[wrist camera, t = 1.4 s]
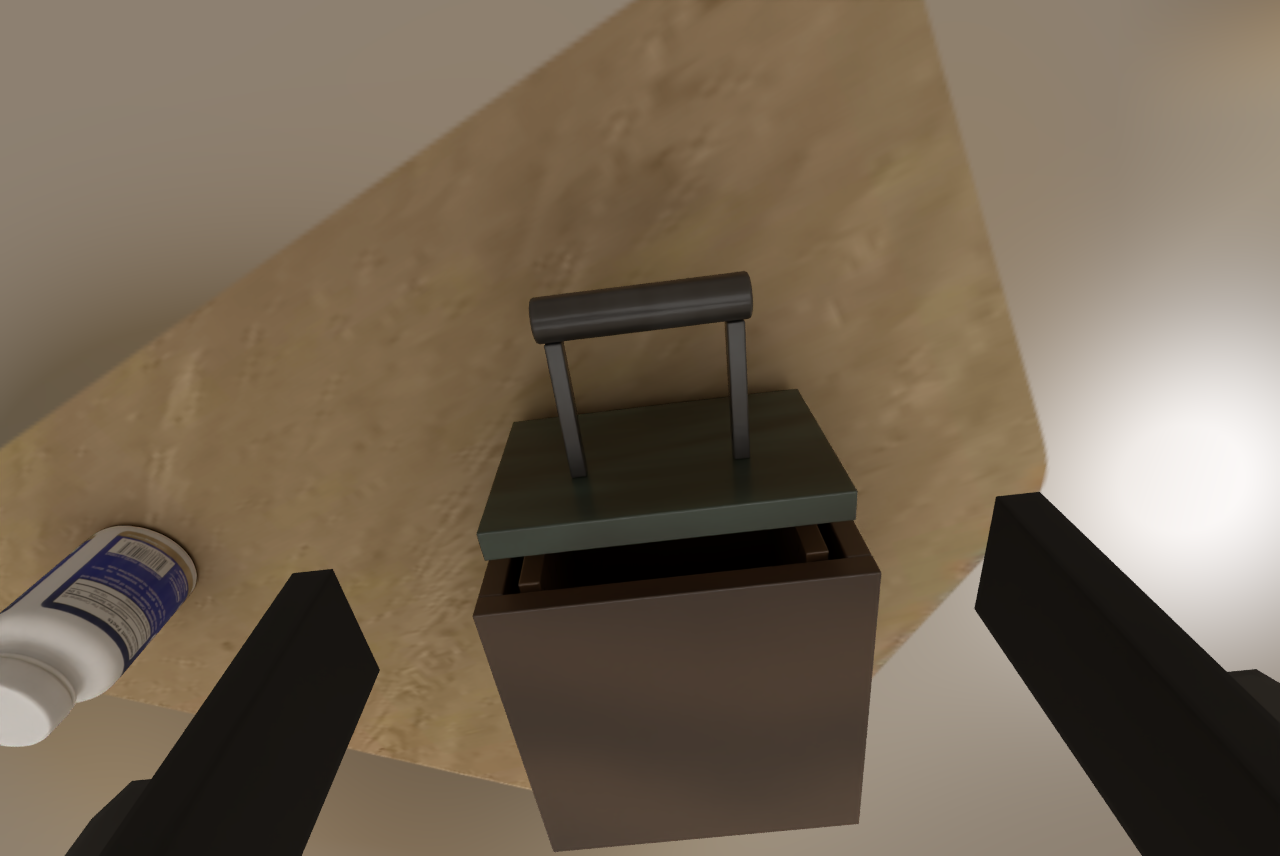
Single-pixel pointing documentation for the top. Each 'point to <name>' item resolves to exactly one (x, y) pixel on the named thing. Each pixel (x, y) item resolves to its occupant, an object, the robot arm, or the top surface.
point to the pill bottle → (85, 626)
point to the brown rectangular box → (690, 696)
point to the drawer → (661, 459)
